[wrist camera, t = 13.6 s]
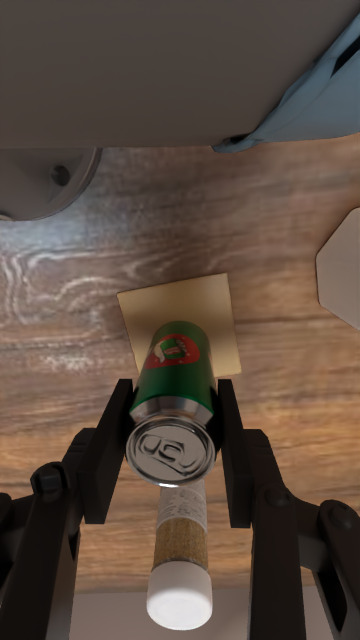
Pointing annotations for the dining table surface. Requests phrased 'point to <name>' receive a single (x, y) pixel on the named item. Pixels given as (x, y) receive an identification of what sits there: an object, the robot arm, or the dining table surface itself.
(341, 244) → the cup
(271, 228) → the dining table surface
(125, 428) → the green can
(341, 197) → the dining table surface
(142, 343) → the coaster
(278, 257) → the dining table surface
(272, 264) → the dining table surface
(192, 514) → the sprinkles bottle
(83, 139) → the robot arm
